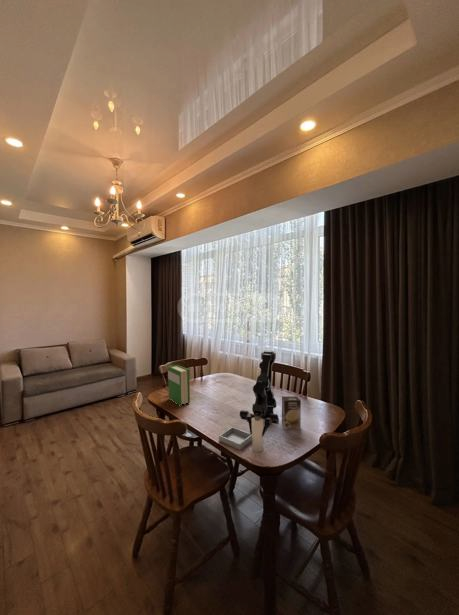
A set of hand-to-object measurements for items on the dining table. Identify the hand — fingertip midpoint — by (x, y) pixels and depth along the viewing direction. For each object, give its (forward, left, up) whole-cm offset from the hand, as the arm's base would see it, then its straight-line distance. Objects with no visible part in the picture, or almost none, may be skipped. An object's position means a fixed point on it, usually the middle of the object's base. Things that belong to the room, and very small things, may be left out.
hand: (256, 435), depth 118 cm
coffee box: (-12, +27, -7) cm, 31 cm away
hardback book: (-73, -24, -7) cm, 77 cm away
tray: (-11, -6, -7) cm, 15 cm away
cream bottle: (-1, +1, -7) cm, 7 cm away
